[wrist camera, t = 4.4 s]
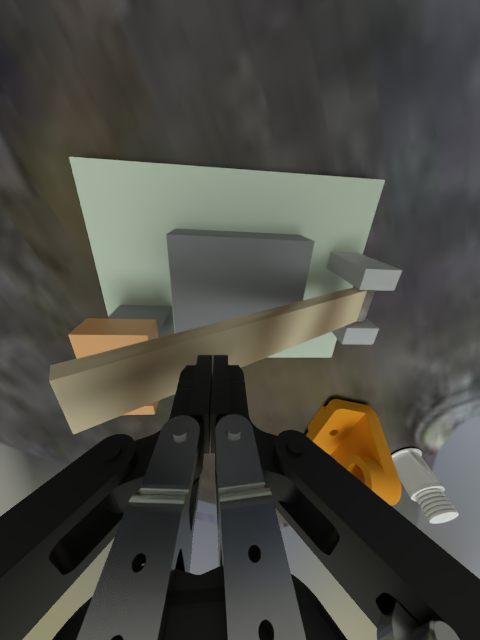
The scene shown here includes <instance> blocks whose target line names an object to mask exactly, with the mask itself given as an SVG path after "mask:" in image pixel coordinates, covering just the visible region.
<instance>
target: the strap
mask: <svg viewBox="0 0 480 640" xmlns="http://www.w3.org/2000/svg"><path fill="white" fill-rule="evenodd" d="M374 293H375V290H359V289H358V288H356V287H353V288H349V289H345V290H341V291H337V292H334V293H330V294H326V295H322V296H318V297H314V298H310V299H307V300H303V301H299V302H295V303H291V304H287V305H283V306H279V307H276V308H272V309H268V310H264V311H260V312H256V313H252V314H248V315H245V316H241V317H237V318H233V319H229V320H225V321H221V322H217V323H214V324H210V325H206V326H202V327H198V328H194V329H190V330H186V331H183V332H179V333H175V334H171V335H167V336H163V337H159V338H156V339H152V340H148V341H144V342H140V343H136V344H132V345H128V346H125V347H121V348H117V349H113V350H109V351H105V352H101V353H97V354H94V355H90V356H86V357H82V358H78V359H74V360H70V361H66V362H63V363H59V364H55V365H51V366H50V378H49V382H50V384H51V386H52V388H53V391H54V393H55V395H56V397H57V399H58V402H59V404H60V406H61V408H62V410H63V413H64V415H65V417H66V419H67V421H68V424H69V426H70V428H71V430H72V433H73V434H76V433H78V432H81V431H83V430H86V429H88V428H91V427H93V426H96V425H98V424H101V423H103V422H106V421H108V420H111V419H113V418H116V417H118V416H121V415H123V414H126V413H128V412H131V411H133V410H136V409H138V408H141V407H143V406H146V405H148V404H151V403H153V402H156V401H158V400H161V399H163V398H166V397H168V396H171V395H173V394H176V390H177V385H178V382H179V377H180V373H181V371H182V370H183V369H184V368H185V367H186V365H196V363H197V357H198V355H212V356H213V357H214V355H228V365H239V367H240V368H241V367H244V366H246V365H249V364H251V363H254V362H256V361H259V360H261V359H264V358H266V357H269V356H271V355H274V354H276V353H279V352H281V351H284V350H286V349H289V348H291V347H294V346H296V345H299V344H301V343H304V342H306V341H309V340H311V339H314V338H316V337H319V336H321V335H324V334H326V333H329V332H331V331H334V330H336V329H339V328H341V327H344V326H346V325H349V324H351V323H354V322H356V321H358V322H362V321H365V318H366V315H367V312H368V309H369V307H370V304H371V301H372V298H373V295H374Z"/></svg>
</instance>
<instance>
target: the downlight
mask: <svg viewBox="0 0 480 640" xmlns="http://www.w3.org/2000/svg"><path fill="white" fill-rule="evenodd" d="M391 456H392V459H393V462H394V465H395V468H396V471H397V473H398V476H399V479H400V481H401V483H402V484H403V486H404V488H405V489H406V491H407V493H408V494H409V496H410V498H411V499H412V500H413V501H417V502H418V504H419V506H420V507H421V509H422V510H423V512H424V514H426V517H427V518H428V520H429V522H430V523H433V524H434V523H435V524H436V523H443V522H447V521H450V520H452V519H454V518H456V517H457V516H458V513H457V511H456V510H455V508H454V507H453V506H452V504H451V503H450V502H449V500H448V499H447V498H446V496H445V495H444V493H443V492H444V491H445V489H444V487H443V486H442V484H441V483H440V482H439V480H438V479H437V478H436V476H435V475H434V473H433V472H432V471H431V469H430V468H429V467H428V465H427V464H426V463H425V461H424V460H423V459H422V457H421V456H422V452H421V451H420V450H419V449H416V448H407V449H403V450H400V451H397V452H395V453H394V454H392V455H391Z"/></svg>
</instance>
